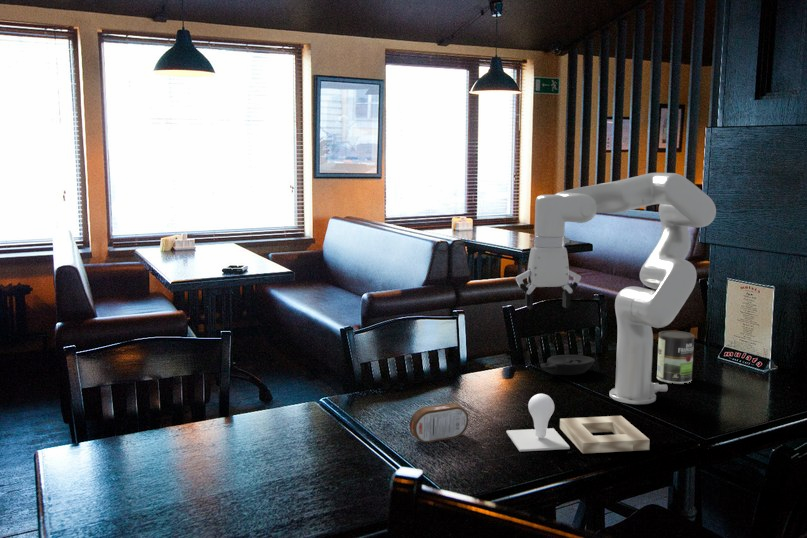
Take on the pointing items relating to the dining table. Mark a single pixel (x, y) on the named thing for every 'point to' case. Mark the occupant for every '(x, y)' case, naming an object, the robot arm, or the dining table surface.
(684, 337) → the coffee can
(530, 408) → the lightbulb
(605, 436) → the plate
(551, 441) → the rubber mat
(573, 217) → the robot arm
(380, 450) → the dining table surface
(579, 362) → the oil lamp
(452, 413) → the tin
